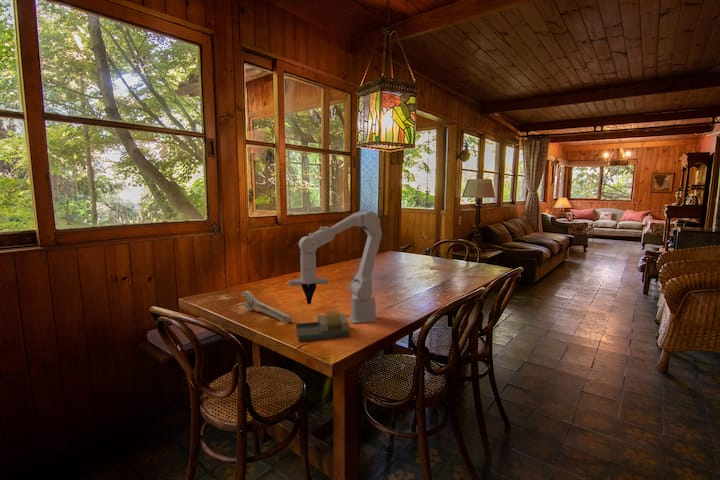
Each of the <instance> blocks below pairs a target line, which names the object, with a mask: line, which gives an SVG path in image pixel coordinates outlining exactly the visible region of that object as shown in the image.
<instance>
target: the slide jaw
mask: <svg viewBox="0 0 720 480" xmlns="http://www.w3.org/2000/svg"><path fill="white" fill-rule="evenodd" d="M317 322H318V326H319V329H320V332H321V333H327V332H328V323H327V321H326V318H325V315H324V314H319V315H317Z"/></svg>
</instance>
